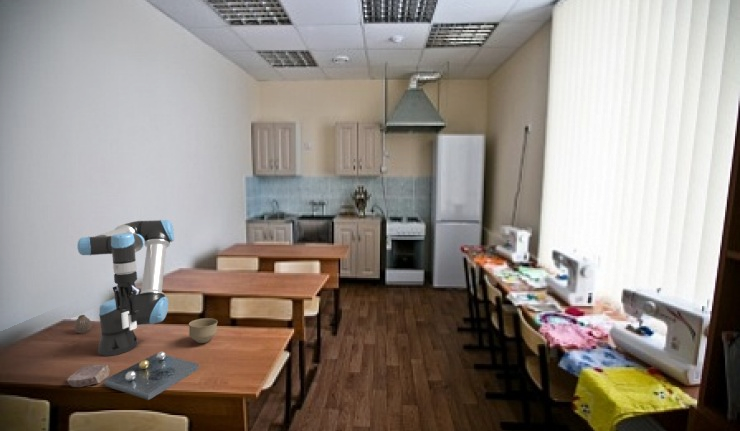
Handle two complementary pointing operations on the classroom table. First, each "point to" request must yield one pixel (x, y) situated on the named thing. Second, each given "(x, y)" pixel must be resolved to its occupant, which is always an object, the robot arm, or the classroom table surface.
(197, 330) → the bowl
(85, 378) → the stone
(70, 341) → the classroom table surface
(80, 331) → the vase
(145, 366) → the brass ball
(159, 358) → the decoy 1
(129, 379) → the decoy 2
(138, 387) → the plate
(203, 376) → the classroom table surface
